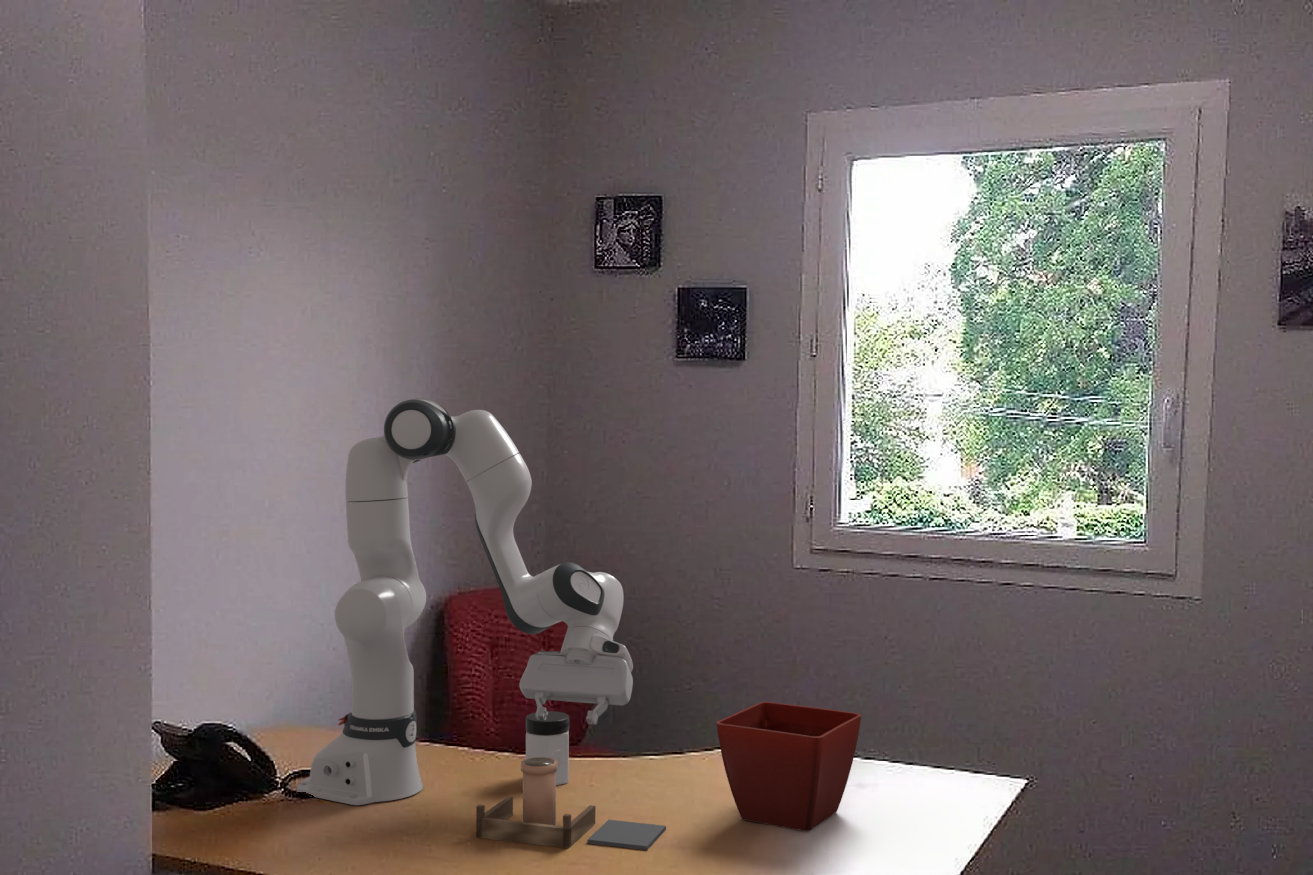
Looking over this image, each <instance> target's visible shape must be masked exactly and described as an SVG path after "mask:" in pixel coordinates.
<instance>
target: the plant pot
mask: <svg viewBox="0 0 1313 875" xmlns="http://www.w3.org/2000/svg"><path fill="white" fill-rule="evenodd" d="M861 719H862V714H860V713H856V712H849V711H842V710H838V709H837V710H835V709H829V708H822V707H814V706H806V705H795V704H789V703H788V704H787V703H780V702H779V703H778V702H771V701H762V702H758V703H757V704H753V705H752V706H750V707H748V708H745V709H743V710H741V711H738V712H736V713H734V714H732V715H730V716H727V717H725V718H723V719H720V720H717V721H716V728H717V735H718V737H717V738H718V742H719V747H720V753H721V758H722V761H723V762H722V763H723V766H724V770H725V775H726V778H727V781H728V785H729V787H730V791H731V795H732V797H733V800H734V803H735V806H736V808H737V810H738V813H739V814H738V815H739V816H740V818H741V819H742V820H744V821H750V822H754V823H755V822H757V823H759V824H760V823H761V824H766V825H771V826H776V827H780V828H786V829H791V830H796V831H803V832H808V831H812V830H813V829H815V828H816V827H817V826H819V825H820V824H822V823H823V822H825V821H826V820H828V819H829V818H830V817H832V816H833V815H834V814H836V813H837V812H838V809H839V807H840V804H841V802H842V800H843V799H842V798H843V795H844V793H845V790H846V787H847V785H848V781H849V776H850V772H851V770H852V765H853V761H854V757H855V753H856V749H857V745H858V744H857V743H858V740H859V733H860V728H861V721H862V720H861Z"/></svg>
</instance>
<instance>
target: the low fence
mask: <svg viewBox="0 0 1313 875" xmlns="http://www.w3.org/2000/svg"><path fill="white" fill-rule="evenodd" d="M485 806H486V805H485V804H478V805H476V807H475V808H476V810H475V811H476V812H475V813H476V814H475V816H476V819H475V820H476V821H475V823H476V824H475V825H476V826H475V827H476V829H475V830H476V832H475V833H476V834H475V835H476V837H475V838H480V839H488V840H495V841H496V840H497V841H504V842H505V841H506V842H512V843H513V842H514V843H522V844H530V845H537V846H539V845H540V846H548V847H556V848H564V849H569V848H571V847H572V846H573V845H574V844H575V843H576V842H577V841H578V840H580V839H581V838H582V837H583V836H584V835H585V834H586V833H587V832H588V831H589V830H591V828H593V827H594V826H595V825H596V805H592V804H591V805H588V806H587V807H586V808H585V809H584V810H583V811H581V812H580V813H579V814H578V815H577V816H576V817H574V818H573V819H572V814H568V813H564V815H562V825H557V824H556V825H547V824H539V823H530V822H523V821H519V820H510V819H509V818H510V817H512V816H513V815H514V797H513V796H506V797H505V798H504V799H502V800H501V801H499V802H498V803H496V804H495V805H494V806H492V807H490V809H488V810H485V809H486V807H485Z"/></svg>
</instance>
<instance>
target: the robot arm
mask: <svg viewBox="0 0 1313 875" xmlns="http://www.w3.org/2000/svg"><path fill="white" fill-rule="evenodd" d="M383 424H384V425H383V434H382V435H381V436H379V437H378V436H377V437H371V438H370V437H369V438H367V439H362V440H361V441H358V442H357V443H355V444H354V445H353V446H351V448H350V450H349V452H348V458H347V463H346V473H345V512H346V513H345V514H346V515H345V516H346V532H347V543H348V547H349V548H350V550H351V551H352V553H353V555H354V558H355V561H356V564H357V568H358V572H359V577H360V581H359V582H357V583H355V584H354V585H352V586H350V587H349V589H347V590H346V591H345V592H344V594H343V595H342V596H341V597H340V599H339V600H338V601H337V604H336V607H335V611H334V620H335V624H336V627H337V628H338V630H339V632H340V633H341V635H342V636H343V638H344V642H345V647H346V652H347V657H348V662H349V667H350V677H351V678H350V680H351V681H350V683H351V691H350V692H351V693H350V694H351V711H350V712H349V713H347V714H345V715H344V716H343V717H341V718H339V719H337V721H339V723H337V725H338V726H342V725H344V727H343V729H342V733H341V734H339V735H338V736H337V737H336V738H334V739H333V740H332V741H330V742H329V743H327V744H326V745H325V747H323V748H321V750H319V751H318V752H317V753H316V754H315V756H314V757H313V758H312V762H311V765H310V766H311V768H310V770H309V771H310V772H309V776H308V777H306V778H305V779H303V780H302V781H301V782H299V783H298V784H297V786H296V793H297V792H306V793H309V794H311V795H313V796H314V797H313V798H317V799H321V800H322V799H323V800H327V801H332V802H336V803H337V802H338V803H342V804H346V805H347V804H348V805H351V806H362V805H363V806H364V805H368V804H372V803H378V802H389V801H393V800H395V801H396V800H400V799H403V798H408V797H411V796H413V795H416V794H418V793H419V792H420V791H422V790H423V788H424V785H423V782H422V778H421V774H420V771H419V766H418V759H417V750H416V740H417V712H416V710H415V706H414V704H415V698H414V697H415V696H414V695H415V693H414V692H415V691H414V690H415V687H414V685H415V684H414V682H415V681H414V678H415V674H414V673H415V671H414V667H413V664H412V663H411V660H410V658H409V653H408V649H407V646H406V645H407V644H406V640H405V629H407V628H408V627H411V626H412V625H414V623H415V622H416V621H417V620H418V619H419V617H420V616H421V614H422V613H423V611H424V608H425V607H426V604H427V603H426V602H427V591H426V589H425V586H424V585H423V582H422V581H421V580H420V574H419V571H418V566H417V563H416V559H415V554H414V550H413V549H414V548H413V545H412V538H411V526H410V525H411V524H410V510H409V509H410V508H409V491H408V490H409V489H408V473H409V470H410V468H411V466H412V464H414V463H418V462H420V461H423V460H424V461H425V460H428V459H431V458H434V457H438V456H442V455H443V456H446V457H448V458H449V459H450V460H452V461H453V463H454V464H455V465H456V467H457V468H458V469H459V471H460V474H461V476H462V477H463V479H464V481H465V483H466V484H467V487H468V489H469V491H470V494H471V497H472V500H473V503H474V507H475V513H474V523H475V527H476V530H477V534H478V536H479V539H480V541H481V544H482V547H483V550H484V552H485V555H486V557H487V559H488V561H489V564H490V566H491V569H492V571H493V574H494V576H495V579H496V581H497V584H498V586H499V588H500V592H501V596H502V600H503V601H502V602H503V605H504V610H505V613H506V616H507V618H508V619H509V621H510V623H511V624H512V625H513V626H514V627H515V628H517V630H519V631H521V632H522V633H524V634H528V635H537V634H540V633H541V632H543V631H545V630H548V629H549V628H550V627H553V626H554V625H556V624H559V623H561V622H564V623H565V625H567V630H566V633H565V637H564V638H563V639H564V640H563V643H562V645H561V649H560V651H554V650H553V651H547V650H539V651H538V652H535V653H534V654H532V655H530V656H529V658H528V662H527V664H526V668H525V670H524V672H523V673H522V676H521V678H520V680H519V689H520V691H521V692H522V695H523V696H524V697H525V699H530V700H531V699H534V700H535V703H536V707H537V708H536V715H535V716H536V718H537V720H546V716H547V715H548V711H549V710H547V707H545V706H543V705H545V704H546V701H558V702H559V701H561V702H569V703H570V702H571V703H583V704H584V703H585V704H597V705H596V706H595V708H593V709H592V710H587V713H586V714H587V715H586V716H585V721H586V722H587V725H597V724H598V719H599V717H600V716H602V714H604V712H605V711H607V710H608V706H610V705H611V706H612V705H613V706H625V705H627V704H628V703H630V701H631V700H630V699H631V697H632V692H633V685H634V678H633V675H632V672H633V669H634V662H633V660H632V657H631V654H630V652H629V650H628V648H627V647H626V645H624V644H622V643H619V642H617V641H614V635H615V633H616V632H617V630H618V628H619V624H620V621H621V617H622V613H623V608H624V602H625V601H624V599H625V598H624V589H623V586H622V583H621V582H620V581H619V580H618V579H617V578H615V576H613V575H611V574H609V573H607V572H603V571H596V572H591V571H588V570H586V569H584V568H583V567H582V566H580V565H579V564H577V563H575V562H572V561H571V562H569V561H568V562H562V563H559V564H557V565H555V566H552V567H551V568H549V569H547V570H544V571H543V572H541V573H538V574H536V575H534V576H533V575H531V574H530V573H529V572H528V570H527V567H526V564H525V561H524V559H523V557H522V555H521V551H520V549H519V547H518V545H517V542H516V539H515V536H514V525H515V522H516V520H517V518H518V515H519V514H520V512H521V511H522V509H523V508H524V506H526V503H527V502H528V499H529V497H530V495H531V490H532V484H533V482H532V481H533V480H532V476H531V473H530V470H529V468H528V465H527V464H526V462H525V460H524V458H523V457H522V456H523V455H521V453H520V451H519V450H518V448H517V446H516V445H515V443H514V441H513V440H512V438H511V437H510V435H509V434H508V433H507V431H506V430H505V428H504V426H502V424H501V423H500V422H499V421H498V419H497V418H496V417H495V416H494V415H493V414H492V412H489V411H487V410H484V409H474V410H473V409H472V410H468V411H466V412H463V413H462V414H460V415H455V416H452V415H450V414H449V412H448V411H447V409H446V408H444V407H443V406H442V405H441V404H439V403H437V402H435V401H433V400H430V399H427V398H419V397H418V398H417V397H416V398H411V399H408V400H407V399H406V400H404V401H401V402H399V403H397V404H396V405H395V406H394V407H392V408H391V410H390V411H389V412H388V414H387V415H386V418H385V419H384V423H383Z"/></svg>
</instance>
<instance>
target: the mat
mask: <svg viewBox="0 0 1313 875" xmlns="http://www.w3.org/2000/svg"><path fill="white" fill-rule="evenodd" d="M666 830H667V826H666V825H662V824H655V823H654V824H652V823H643V822H634V821H628V820H627V821H624V820H616V819H608V820H606V821H605V822H604V824H602V825H601V826H600V827H599V828H598V829H597V830H596V831H595V832H594V833H593V834H591V836H589V837H588V838H587V839H586V840H587V844H590V845H591V844H593V845H599V846H600V845H601V846H607V847H608V846H610V847H616V848H625V849H626V848H627V849H633V850H634V849H635V850H645V851H648V850H649V849H650V848H651V847H652V846H653V845H654V843H655V842H656V841H657V840H658V839H659V838H660V837H661V835H662V834H664V832H665V831H666Z"/></svg>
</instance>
